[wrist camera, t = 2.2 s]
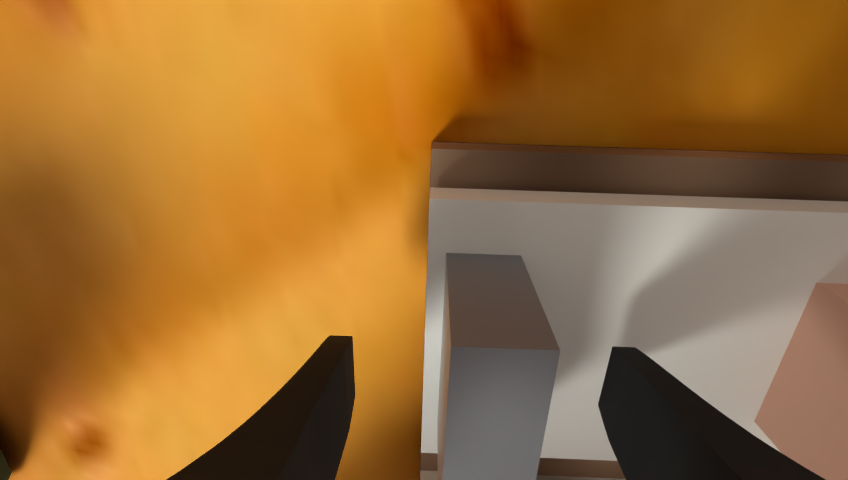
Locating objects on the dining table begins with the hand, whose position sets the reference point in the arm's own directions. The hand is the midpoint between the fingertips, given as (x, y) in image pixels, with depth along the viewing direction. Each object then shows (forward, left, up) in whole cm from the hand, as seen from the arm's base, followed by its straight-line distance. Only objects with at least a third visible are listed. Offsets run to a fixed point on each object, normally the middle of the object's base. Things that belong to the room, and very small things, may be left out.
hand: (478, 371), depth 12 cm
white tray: (+9, 0, -2) cm, 9 cm away
